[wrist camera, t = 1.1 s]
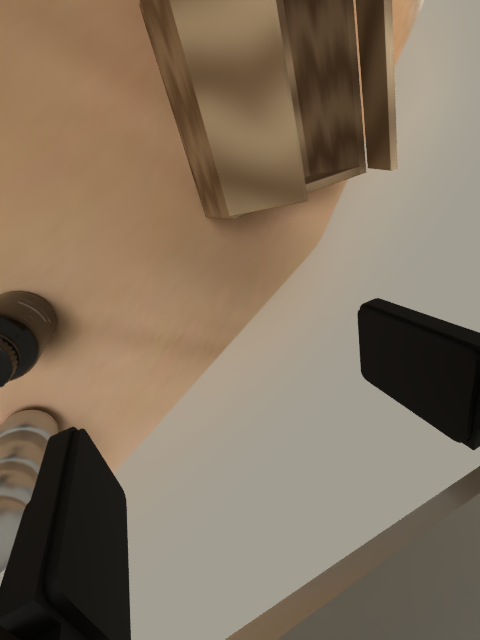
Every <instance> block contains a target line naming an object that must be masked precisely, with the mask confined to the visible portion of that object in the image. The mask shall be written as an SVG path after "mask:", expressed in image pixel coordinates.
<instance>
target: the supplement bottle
mask: <svg viewBox="0 0 480 640" xmlns="http://www.w3.org/2000/svg"><path fill="white" fill-rule="evenodd" d="M55 329H56V316H55V313H54V311H53V309H52V308H51V306H50V305H49V304H48V303H47V302H46V301H45V300H43V299H42V298H40V297H39V296H36V295H34V294H31V293H27V292H20V291H14V292H7V293H4V294H1V295H0V387H2V386H4V385H5V384H6V383H7V382H9V381H11V380H14V379H17V378H19V377H21V376H23V375H24V374H26V373H27V372H29V371H30V370H31V369H32V368H33V366H34V365H35V364H36V363H37V361H38V359H39V358H40V356H41V354H42V353H43V351H44V349H45V348H46V346H47V344H48V343H49V341H50V339H51V337H52V336H53V334H54V332H55Z"/></svg>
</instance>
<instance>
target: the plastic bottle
mask: <svg viewBox="0 0 480 640" xmlns="http://www.w3.org/2000/svg"><path fill="white" fill-rule="evenodd" d="M57 433H58V425H57V423H56V421H55V420H54V418H53V417H51V416H50V415H49V414H47V413H45V412H43V411H40V410H25V411H20V412H17V413H15V414H13V415H11V416H10V417H8V418H7V419H6V420H5V421H4V422H3V423H2V424H1V425H0V573H1V572H2V571H3V570H4V569H5V568H6V567H7V563H8V560H9V557H10V554H11V550H12V547H13V544H14V541H15V537H16V534H17V531H18V528H19V524H20V521H21V518H22V515H23V511H24V509H25V507H26V505H27V504H28V503H29V502H30V500H31V497H32V493H33V490H34V487H35V483H36V480H37V477H38V473H39V470H40V466H41V463H42V460H43V456H44V453H45V450H46V446H47V443H48V440H49V438H50V437H51V436H52V435H55V434H57Z"/></svg>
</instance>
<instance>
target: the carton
mask: <svg viewBox="0 0 480 640" xmlns="http://www.w3.org/2000/svg"><path fill="white" fill-rule="evenodd" d="M276 4H277V10H278V16H279V23H280V29H281V35H282V41H283V47H284V54H285V60H286V66H287V72H288V78H289V84H290V91H291V97H292V103H293V109H294V115H295V122H296V128H297V134H298V140H299V146H300V153H301V159H302V165H303V171H304V177H305V184H306V190H307V193H309V192H311V191H314V190H317V189H320V188H323V187H326V186H329V185H332V184H334V183H337V182H340V181H343V180H346V179H349V178H351V177H354V176H357V175H360V174H363V173H366V164H365V151H364V137H363V124H362V111H361V98H360V85H359V72H358V58H357V45H356V32H355V19H354V6H353V0H276ZM140 9H141V12H142V15H143V19H144V22H145V25H146V28H147V31H148V34H149V38H150V41H151V44H152V47H153V50H154V54H155V57H156V60H157V63H158V66H159V69H160V73H161V76H162V79H163V82H164V85H165V88H166V92H167V95H168V98H169V101H170V104H171V108H172V111H173V114H174V117H175V120H176V123H177V127H178V130H179V133H180V136H181V139H182V143H183V146H184V149H185V152H186V155H187V158H188V162H189V165H190V168H191V171H192V174H193V178H194V181H195V184H196V187H197V190H198V193H199V197H200V200H201V203H202V206H203V209H204V212H205V216H206V217H214V218H228V219H234V218H237V217H240V216H243V215H246V214H248V213H251V212H248V213H243V214H238V215H233V216H229V212H228V209H227V205H226V201H225V198H224V194H223V191H222V187H221V184H220V180H219V176H218V173H217V169H216V166H215V162H214V158H213V155H212V151H211V148H210V144H209V141H208V137H207V133H206V130H205V126H204V123H203V119H202V116H201V112H200V108H199V105H198V101H197V98H196V94H195V91H194V87H193V83H192V80H191V76H190V73H189V69H188V66H187V62H186V58H185V55H184V51H183V48H182V44H181V40H180V37H179V33H178V30H177V26H176V23H175V19H174V15H173V12H172V8H171V5H170V1H169V0H140Z"/></svg>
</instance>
